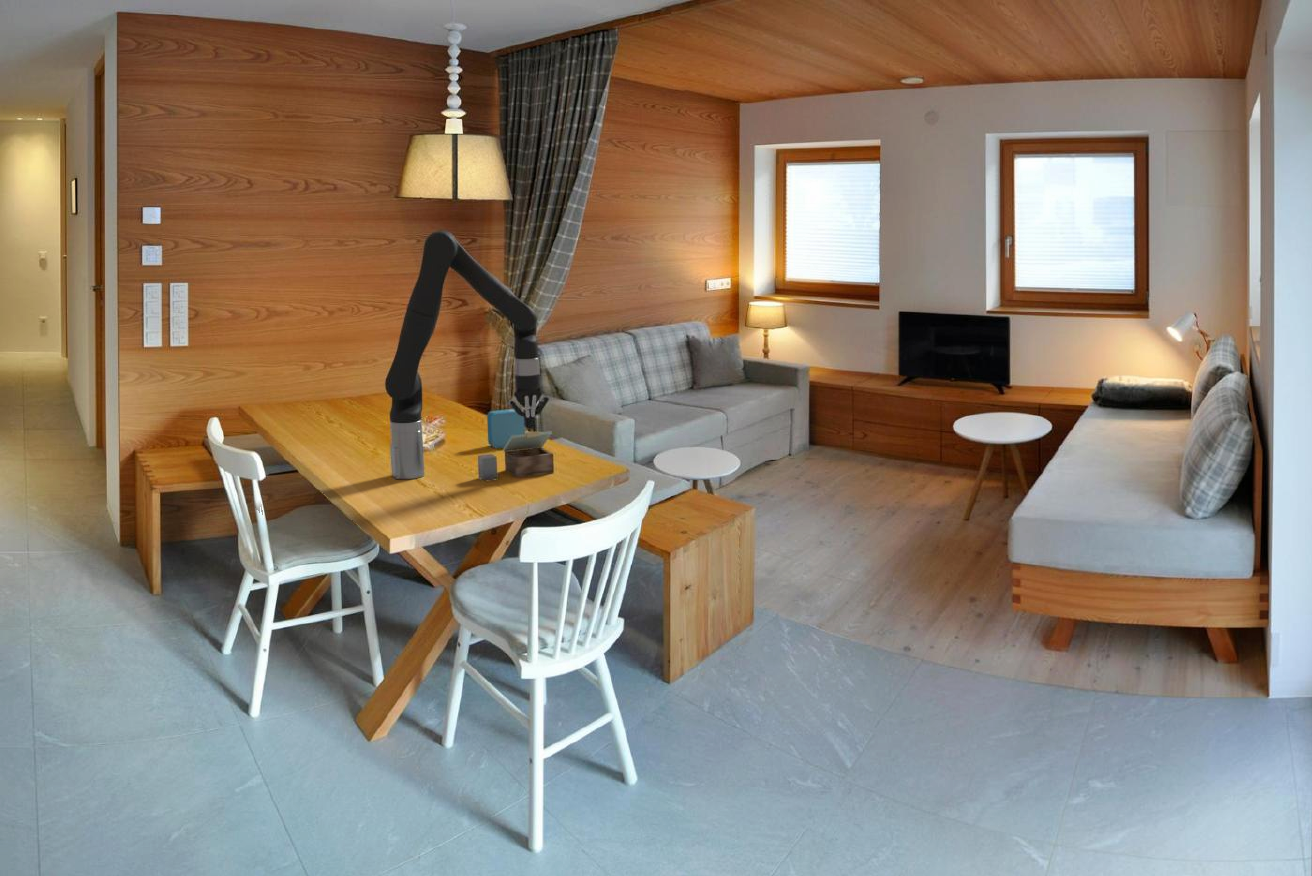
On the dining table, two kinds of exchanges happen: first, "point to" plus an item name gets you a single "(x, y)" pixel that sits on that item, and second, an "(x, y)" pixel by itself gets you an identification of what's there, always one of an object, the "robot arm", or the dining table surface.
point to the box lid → (527, 440)
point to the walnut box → (529, 462)
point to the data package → (503, 426)
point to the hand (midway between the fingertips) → (529, 428)
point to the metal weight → (487, 467)
